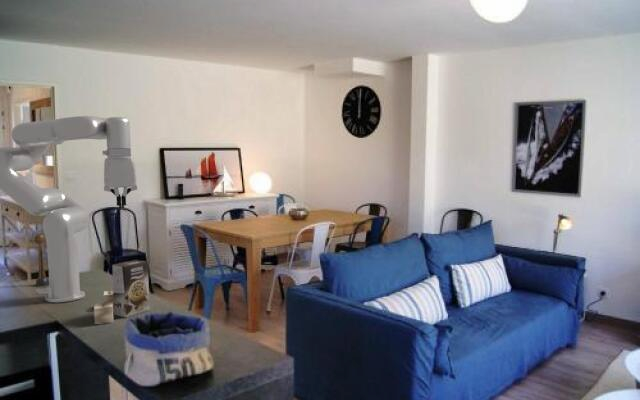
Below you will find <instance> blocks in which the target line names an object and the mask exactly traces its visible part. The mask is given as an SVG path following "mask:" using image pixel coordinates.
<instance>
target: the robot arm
mask: <svg viewBox="0 0 640 400" xmlns="http://www.w3.org/2000/svg"><path fill="white" fill-rule="evenodd" d="M10 136H11V139H12V140H13V142H14V143H15V144H16V145H18V147H5V146H4V147H0V191H1V192H3V193H5V194H6V195H7V196H8V197H9V198H11V199H12V200H13V201H14V202H15V203H16V204H18V206H20V207H21V208H22V209H24V210H25V212H27V213H28V214H29V215H32V216H34V217H43V216H44V217H43V220H42V229H43V232H44V233H43V234H44V236H45V242H46V251H47V265H48V280H49V285H48V286H45V287H46V288H36V289H35V295H38V296H43V295H45V297H44V300H45V301H46V302H48V303H66V302H73V301H77V300H79V299H80V300H81V299H82V298H84V297H85V296H86V292H85V291H83V290H81V286H80V283H81V282H80V270H79V269H80V268H79V266H80V265H79V264H80V263H79V250H78V243H77V241H76V238H75V236H74V234H76V233H79V232H82V231H85V229H87V228H88V226H89V223H90V215H89V214H88V212H87V210H86V209H85V208H84V207H83V206H81V204H79V203H78V202H77V201H75V200H74V199H73V198H72V197H71V196H69V195H68V194H67V193H65V191H62V190H61V189H58V188H56V187H45V188H44V187H39V186H38V185H36V184H35V183H34V182H33V181H31V180H30V178H28V177H26V176H24V175H22V174H21V173H19V172H26V171H29V170H30V169H31V168H34V166H35V165H36V164H37V162H38V161H39V160H40V159H41V158H42V156H43V155H45V153H46V151H47V150H48V149H49V147H50V146H58V145H62V144H63V143H64V142H66V141H67V142H68V141H74V140H75V141H77V140H100V141H101V140H106V149H105V150H102V155H104V156H106V157H107V158H104V163H103V183H104V187H103V191H105V192H109V193H112V194H113V195H114V196H115V197H116V206H117V207H118V208H119V209H125V206H127V195H129V193H130V192H133V191H137V190H138V185H137V174H136V173H137V172H136V164H135V160H134V159H135V158H133V157H132V153H131V151H132V149H131V148H132V147H131V146H132V145H131V126H130V120H129V118H127V117H122V116H111V117H107V118H105V117H99V116H91V115H80V116H70V117H69V116H68V117H61V118H55V119H48V120H39V121H28V122H22V123H18V124H16V125H15V126H14V127H13V128H12V130H11V135H10ZM119 188H123V189H122V190H123V191H122V194H121V193H120V192H119Z"/></svg>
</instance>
